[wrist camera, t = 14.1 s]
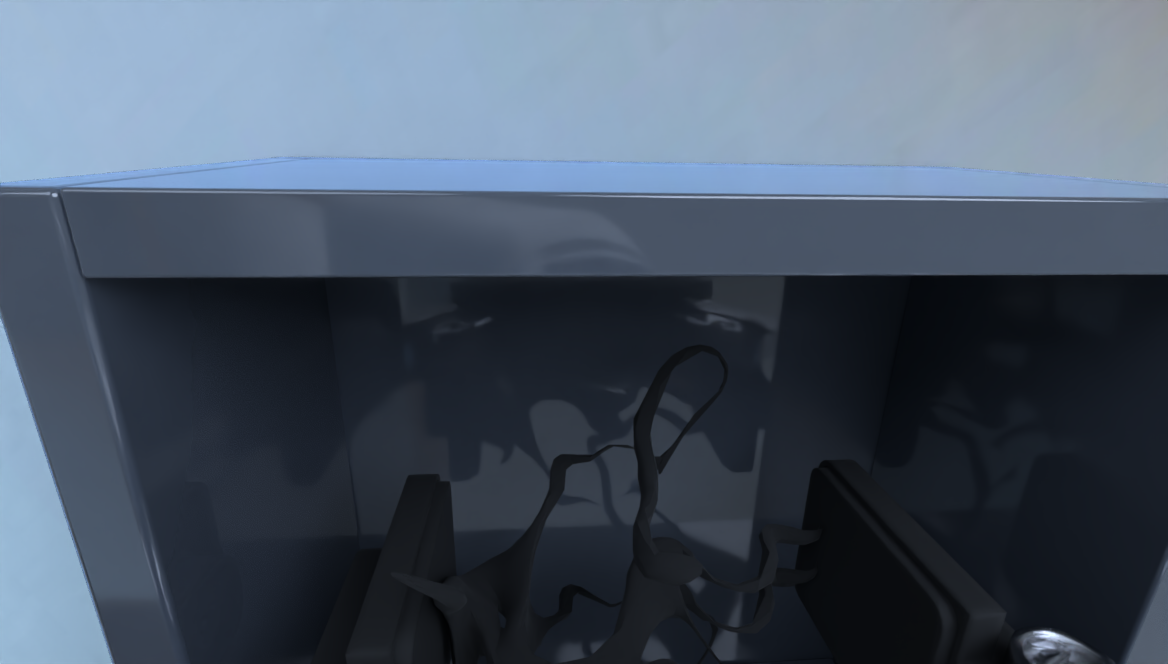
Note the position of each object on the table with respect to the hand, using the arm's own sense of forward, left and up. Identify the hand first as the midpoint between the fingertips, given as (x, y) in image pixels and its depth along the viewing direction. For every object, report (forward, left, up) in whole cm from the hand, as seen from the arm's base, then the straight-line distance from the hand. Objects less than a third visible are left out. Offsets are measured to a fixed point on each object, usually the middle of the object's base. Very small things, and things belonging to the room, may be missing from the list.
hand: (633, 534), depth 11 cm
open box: (0, 0, -3) cm, 3 cm away
